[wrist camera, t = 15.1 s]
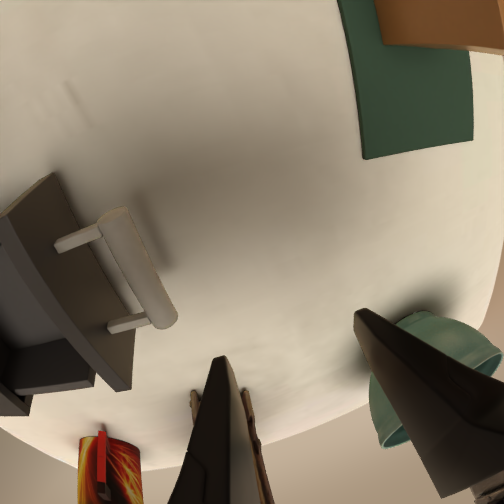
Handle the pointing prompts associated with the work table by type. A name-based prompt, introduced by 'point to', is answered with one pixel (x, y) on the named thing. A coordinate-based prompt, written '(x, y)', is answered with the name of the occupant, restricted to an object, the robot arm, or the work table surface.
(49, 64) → the work table surface
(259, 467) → the book
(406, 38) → the box
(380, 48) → the front mat
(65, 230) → the drawer
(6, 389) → the dark grey box
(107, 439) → the mug
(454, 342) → the flower pot
